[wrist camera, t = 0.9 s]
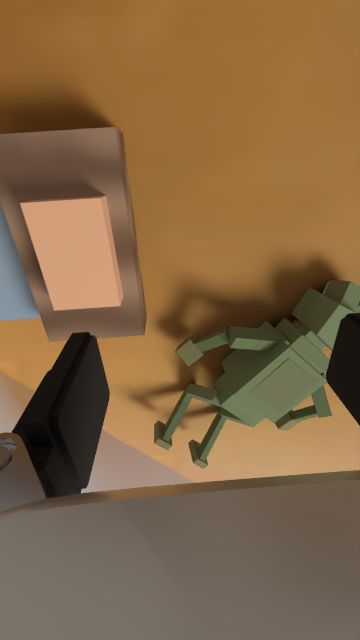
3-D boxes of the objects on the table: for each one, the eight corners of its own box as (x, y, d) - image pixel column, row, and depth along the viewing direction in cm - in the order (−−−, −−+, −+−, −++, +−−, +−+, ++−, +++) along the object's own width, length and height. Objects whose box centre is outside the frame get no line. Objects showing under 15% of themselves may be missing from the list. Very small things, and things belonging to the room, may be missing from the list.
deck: (5, 140, 23) (-23, 135, 20) (122, 133, 23) (114, 127, 20) (62, 322, 32) (49, 341, 28) (146, 317, 32) (144, 335, 28)
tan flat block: (31, 200, 22) (20, 203, 20) (105, 195, 22) (100, 198, 20) (61, 301, 26) (54, 310, 24) (123, 297, 26) (120, 306, 24)
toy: (223, 452, 45) (381, 327, 36) (235, 498, 38) (433, 359, 30) (118, 391, 37) (287, 217, 29) (111, 436, 30) (328, 227, 22)
